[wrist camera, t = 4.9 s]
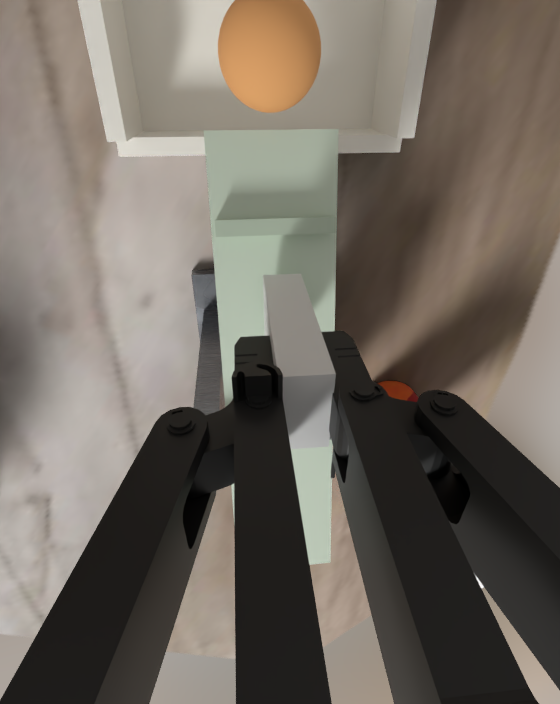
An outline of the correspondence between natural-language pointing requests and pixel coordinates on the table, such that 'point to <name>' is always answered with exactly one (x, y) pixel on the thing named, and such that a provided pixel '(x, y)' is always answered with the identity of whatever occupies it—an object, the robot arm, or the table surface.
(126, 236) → the table surface
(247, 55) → the ball
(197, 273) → the stand
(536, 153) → the table surface
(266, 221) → the lever
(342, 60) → the white square tray
